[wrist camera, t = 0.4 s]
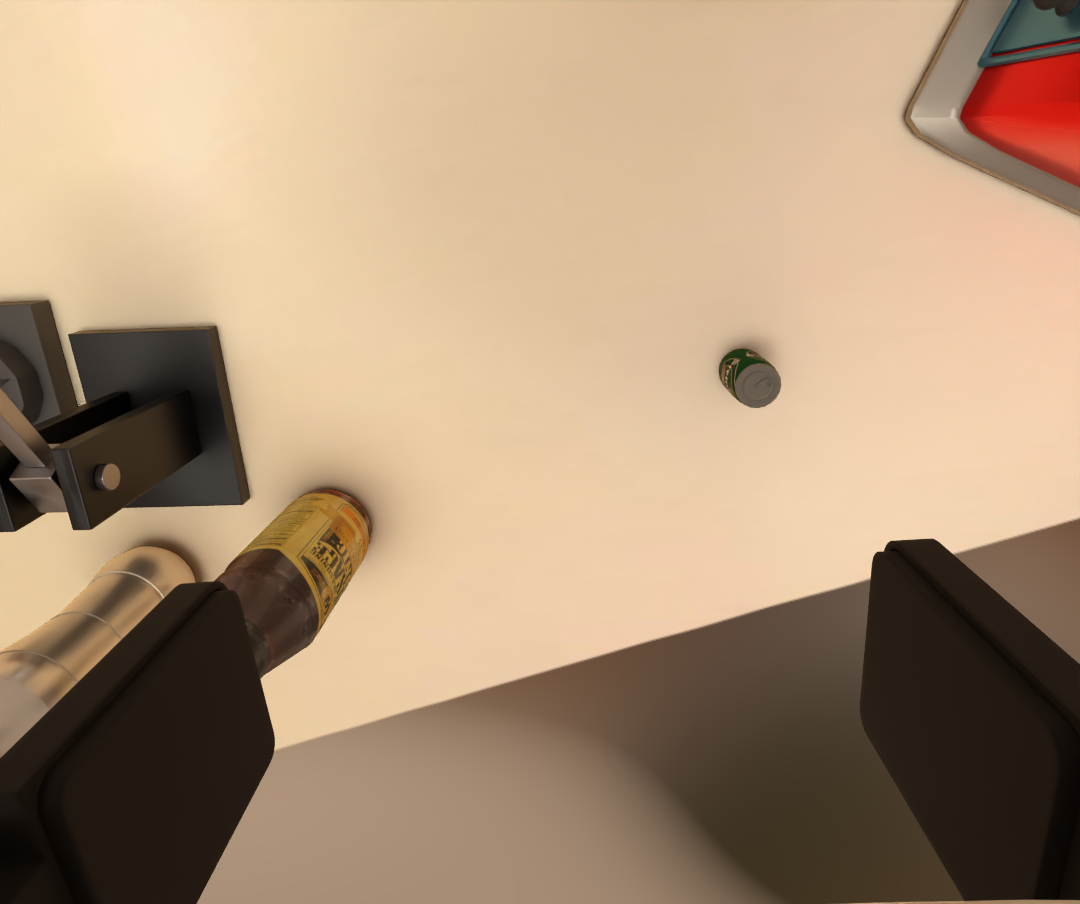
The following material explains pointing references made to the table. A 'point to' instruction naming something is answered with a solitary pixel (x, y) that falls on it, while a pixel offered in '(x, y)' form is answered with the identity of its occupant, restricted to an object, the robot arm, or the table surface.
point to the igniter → (33, 361)
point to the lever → (30, 459)
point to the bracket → (139, 429)
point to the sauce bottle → (297, 573)
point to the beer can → (750, 378)
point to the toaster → (1009, 95)
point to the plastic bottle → (82, 635)
